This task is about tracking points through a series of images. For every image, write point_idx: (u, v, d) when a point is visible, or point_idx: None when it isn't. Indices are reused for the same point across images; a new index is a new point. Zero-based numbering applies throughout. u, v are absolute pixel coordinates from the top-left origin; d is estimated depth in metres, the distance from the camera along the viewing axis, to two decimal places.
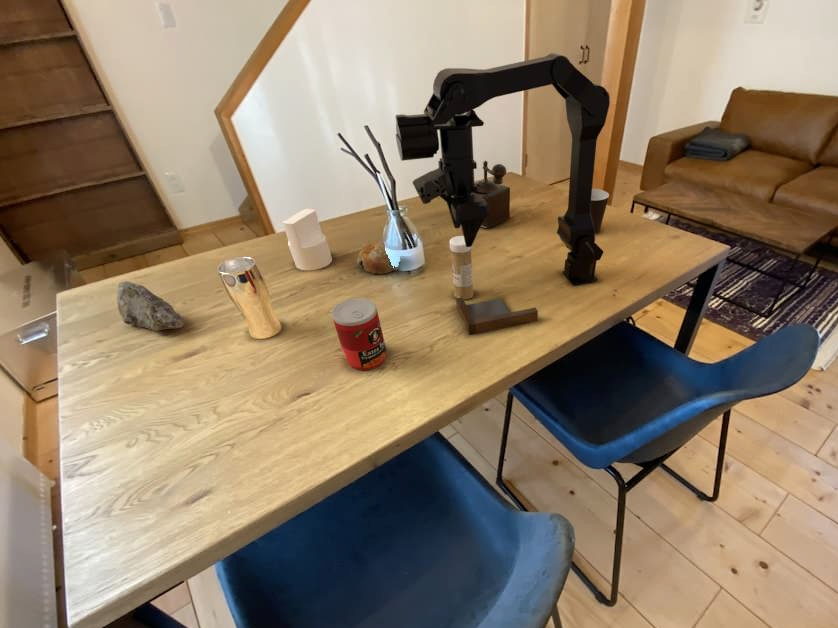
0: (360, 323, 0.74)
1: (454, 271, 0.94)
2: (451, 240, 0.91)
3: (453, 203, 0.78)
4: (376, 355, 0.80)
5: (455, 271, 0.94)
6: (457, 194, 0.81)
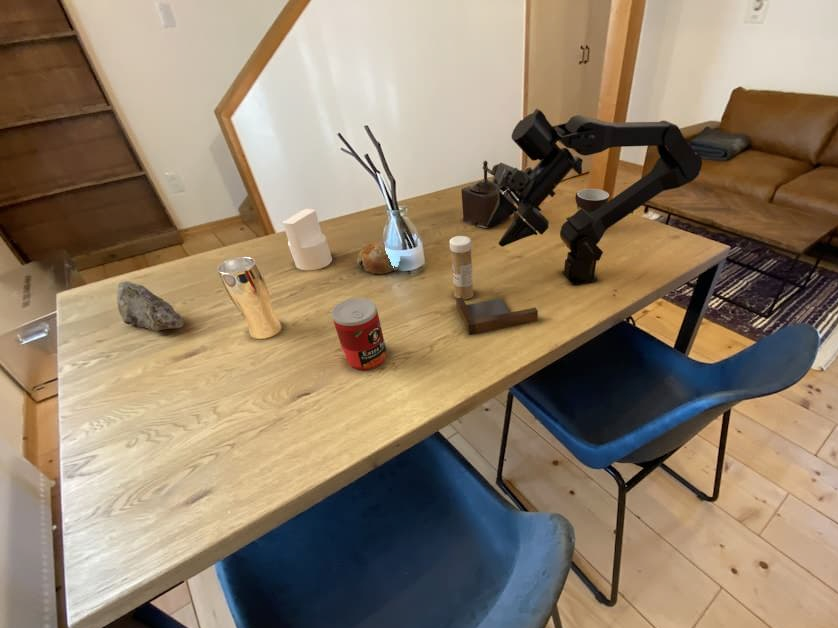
0: (360, 323, 0.74)
1: (454, 271, 0.94)
2: (451, 240, 0.91)
3: (525, 203, 0.83)
4: (376, 355, 0.80)
5: (455, 271, 0.94)
6: (525, 201, 0.87)
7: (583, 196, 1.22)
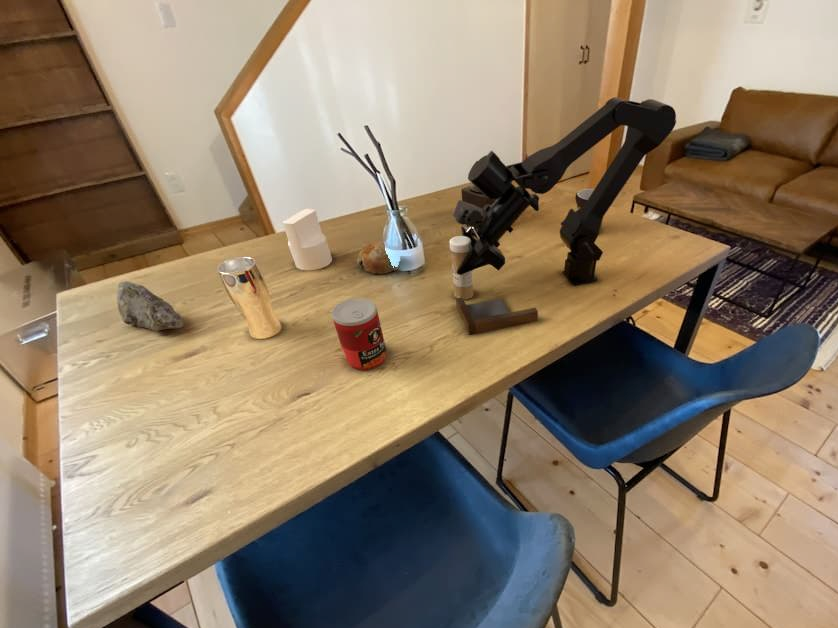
0: (360, 323, 0.74)
1: (454, 271, 0.94)
2: (451, 240, 0.91)
3: (482, 240, 0.86)
4: (376, 355, 0.80)
5: (455, 271, 0.94)
6: (484, 237, 0.89)
7: (583, 196, 1.22)
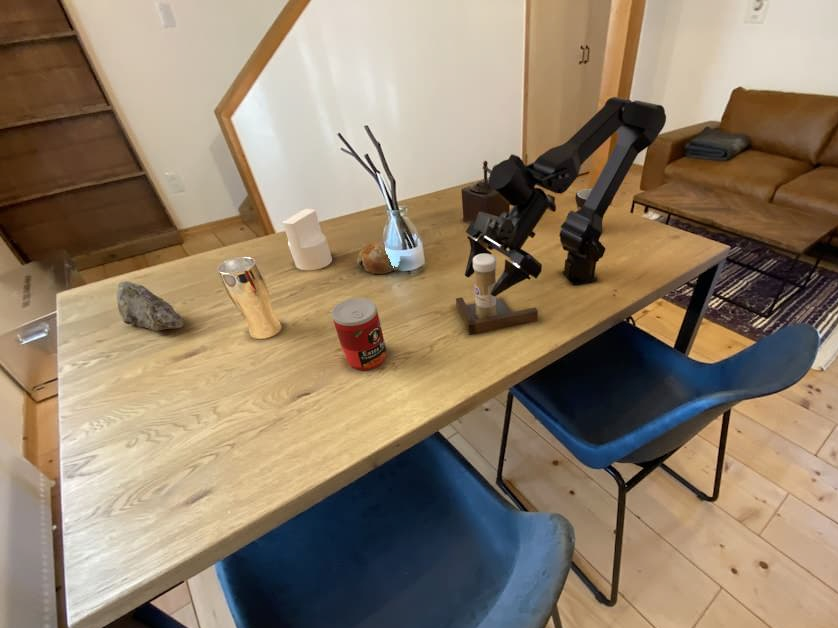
0: (360, 323, 0.74)
1: (479, 292, 0.87)
2: (475, 260, 0.84)
3: (517, 250, 0.80)
4: (376, 355, 0.80)
5: (481, 293, 0.87)
6: (510, 247, 0.83)
7: (583, 196, 1.22)
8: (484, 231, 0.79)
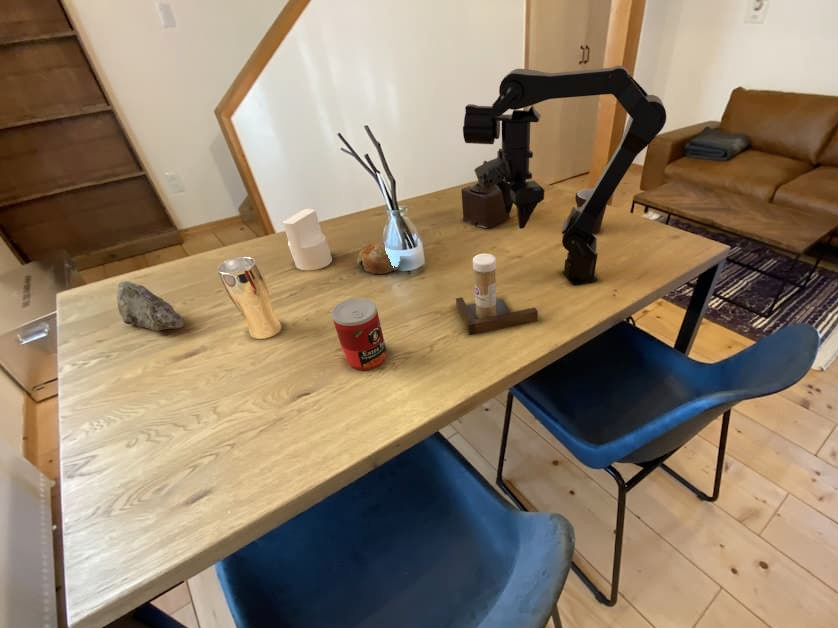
0: (360, 323, 0.74)
1: (479, 292, 0.87)
2: (475, 260, 0.84)
3: (512, 188, 0.88)
4: (376, 355, 0.80)
5: (481, 293, 0.87)
6: (514, 180, 0.91)
7: (583, 196, 1.22)
8: (483, 186, 0.90)
